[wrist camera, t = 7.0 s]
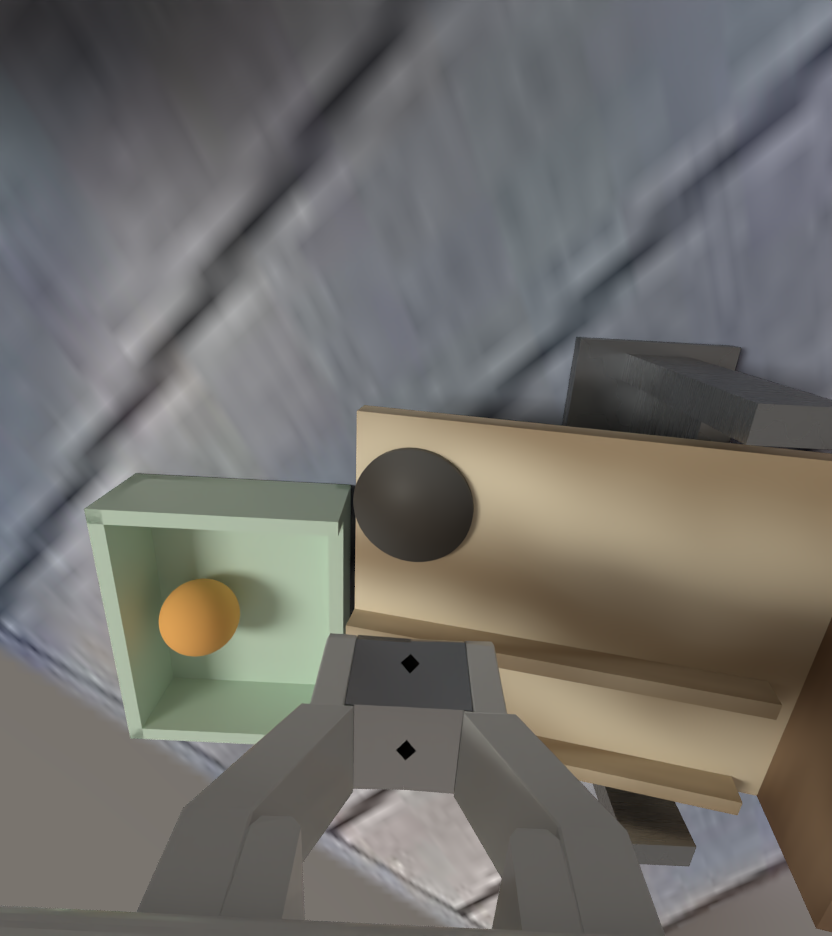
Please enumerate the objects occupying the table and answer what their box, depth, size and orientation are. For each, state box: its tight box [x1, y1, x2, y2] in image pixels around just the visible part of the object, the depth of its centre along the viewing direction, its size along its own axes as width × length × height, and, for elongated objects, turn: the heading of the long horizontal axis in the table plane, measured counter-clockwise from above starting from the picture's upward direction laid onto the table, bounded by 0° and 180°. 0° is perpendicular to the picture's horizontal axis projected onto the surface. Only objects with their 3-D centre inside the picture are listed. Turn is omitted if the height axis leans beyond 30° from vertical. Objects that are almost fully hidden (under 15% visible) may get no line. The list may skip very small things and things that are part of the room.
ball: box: [159, 578, 240, 657], centre depth 22 cm, size 3×3×3 cm
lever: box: [346, 405, 832, 932], centre depth 15 cm, size 12×19×5 cm, turn 87°
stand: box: [562, 337, 832, 866], centre depth 18 cm, size 17×6×8 cm, turn 177°
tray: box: [84, 473, 351, 744], centre depth 22 cm, size 11×9×4 cm
